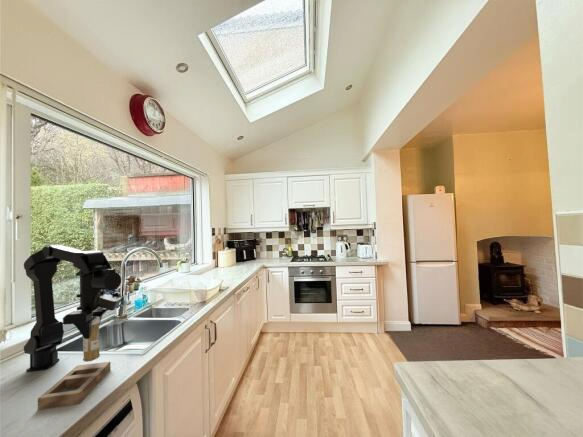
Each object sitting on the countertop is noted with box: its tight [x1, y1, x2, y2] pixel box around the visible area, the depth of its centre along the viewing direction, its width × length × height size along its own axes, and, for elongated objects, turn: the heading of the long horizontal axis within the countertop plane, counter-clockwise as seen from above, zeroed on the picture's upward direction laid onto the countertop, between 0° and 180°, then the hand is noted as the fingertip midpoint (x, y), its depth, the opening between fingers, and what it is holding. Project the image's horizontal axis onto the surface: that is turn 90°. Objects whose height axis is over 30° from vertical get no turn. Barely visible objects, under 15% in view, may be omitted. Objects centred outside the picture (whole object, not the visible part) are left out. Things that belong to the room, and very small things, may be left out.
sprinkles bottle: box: [82, 316, 101, 362], centre depth 86 cm, size 5×5×13 cm
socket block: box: [37, 361, 111, 411], centre depth 79 cm, size 10×17×3 cm, turn 11°
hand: (91, 335), depth 85 cm, fingers closed on sprinkles bottle, 4 cm apart
